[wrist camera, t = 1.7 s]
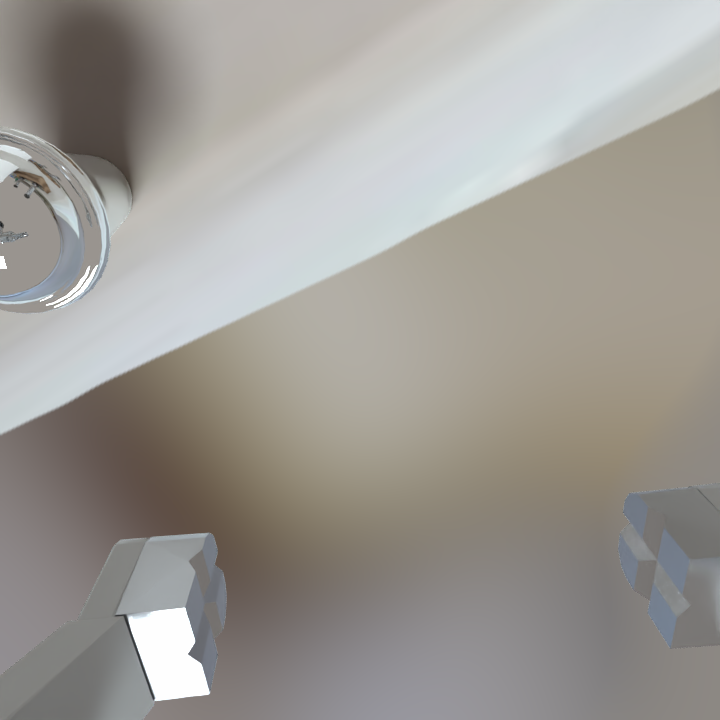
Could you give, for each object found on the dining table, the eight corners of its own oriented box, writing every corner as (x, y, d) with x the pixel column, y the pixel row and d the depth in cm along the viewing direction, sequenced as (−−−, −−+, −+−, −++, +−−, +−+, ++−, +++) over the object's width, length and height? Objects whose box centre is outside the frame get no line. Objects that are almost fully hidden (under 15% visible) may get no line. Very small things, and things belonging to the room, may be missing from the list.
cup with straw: (181, 249, 37) (38, 393, 18) (45, 272, 37) (-230, 437, 18) (140, 108, 33) (-88, 113, 15) (-11, 133, 33) (-419, 170, 15)
